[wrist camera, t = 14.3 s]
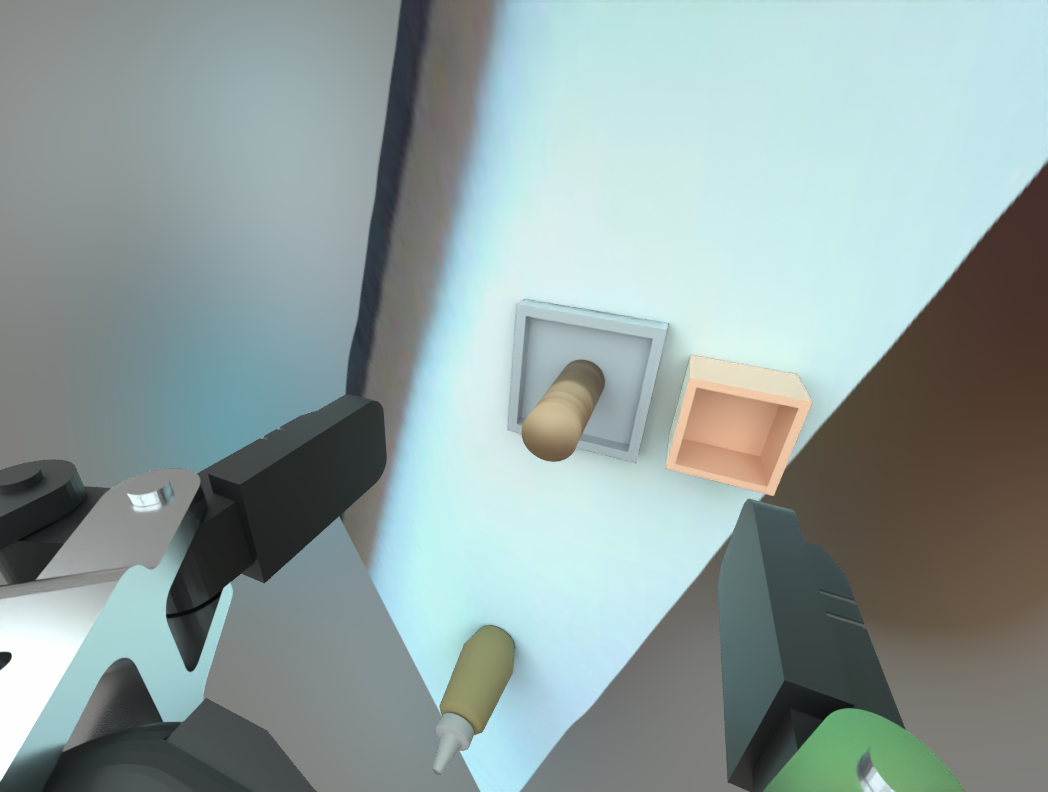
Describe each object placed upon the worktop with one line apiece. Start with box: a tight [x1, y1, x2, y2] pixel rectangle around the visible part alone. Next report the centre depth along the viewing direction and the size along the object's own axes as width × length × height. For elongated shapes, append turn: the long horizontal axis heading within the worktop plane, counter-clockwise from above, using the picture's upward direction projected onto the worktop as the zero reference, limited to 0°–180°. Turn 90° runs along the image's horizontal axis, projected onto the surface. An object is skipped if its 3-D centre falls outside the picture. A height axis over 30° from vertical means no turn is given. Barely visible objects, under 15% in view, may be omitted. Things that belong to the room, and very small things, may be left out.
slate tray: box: [507, 299, 669, 463], centre depth 44 cm, size 14×14×2 cm
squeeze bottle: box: [433, 625, 514, 775], centre depth 59 cm, size 8×8×18 cm
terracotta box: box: [666, 355, 812, 496], centre depth 39 cm, size 9×9×6 cm
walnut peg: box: [522, 359, 605, 462], centre depth 40 cm, size 4×4×12 cm
